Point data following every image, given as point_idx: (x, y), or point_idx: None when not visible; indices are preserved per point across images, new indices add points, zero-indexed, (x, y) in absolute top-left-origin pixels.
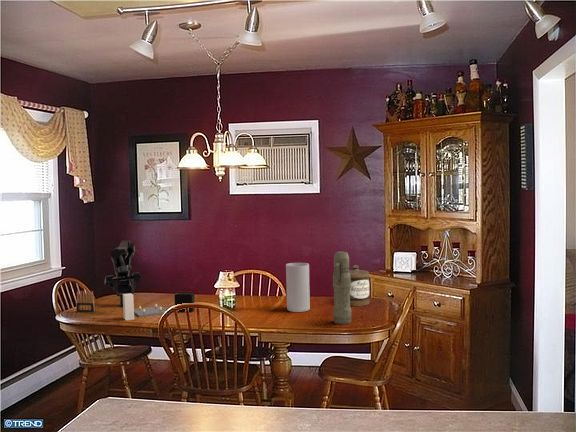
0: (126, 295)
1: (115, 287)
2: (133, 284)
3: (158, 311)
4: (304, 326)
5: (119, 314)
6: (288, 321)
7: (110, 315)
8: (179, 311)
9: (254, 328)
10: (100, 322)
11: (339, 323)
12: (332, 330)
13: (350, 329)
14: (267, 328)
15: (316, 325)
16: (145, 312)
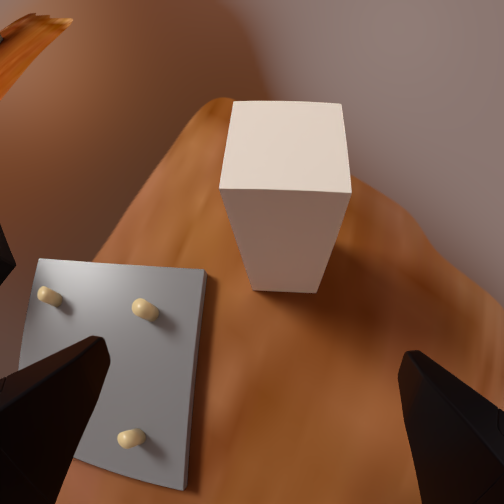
0: (316, 107)
1: (472, 402)
2: (32, 409)
3: (69, 294)
4: (27, 30)
5: (302, 452)
6: (7, 55)
7: (369, 456)
8: (9, 250)
9: (69, 23)
10: (461, 279)
11: (2, 38)
12: (34, 16)
13: (23, 20)
14: (59, 23)
15: (17, 34)
16: (136, 326)
